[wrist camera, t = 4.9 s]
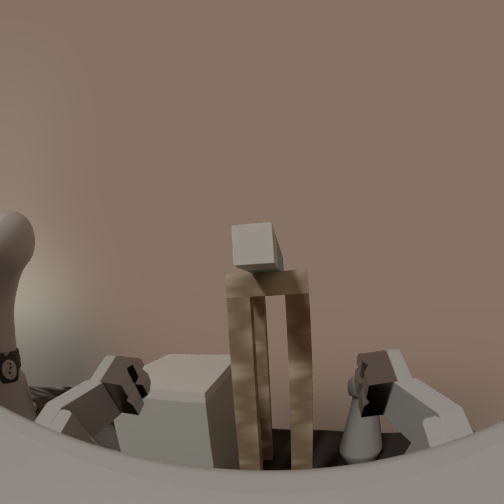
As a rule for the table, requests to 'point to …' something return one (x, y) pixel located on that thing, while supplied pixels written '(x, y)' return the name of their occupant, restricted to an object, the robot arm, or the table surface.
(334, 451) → the table surface
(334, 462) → the table surface
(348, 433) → the salt shaker
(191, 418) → the white rectangular block
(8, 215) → the robot arm
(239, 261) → the marker
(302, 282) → the wooden stand
